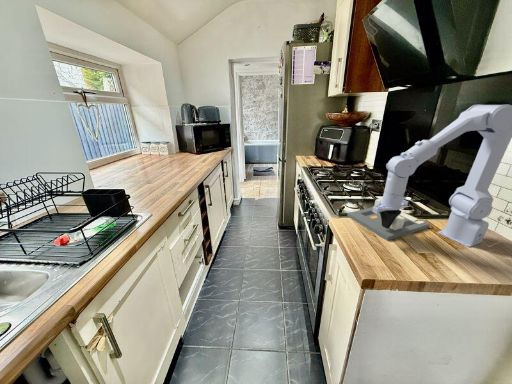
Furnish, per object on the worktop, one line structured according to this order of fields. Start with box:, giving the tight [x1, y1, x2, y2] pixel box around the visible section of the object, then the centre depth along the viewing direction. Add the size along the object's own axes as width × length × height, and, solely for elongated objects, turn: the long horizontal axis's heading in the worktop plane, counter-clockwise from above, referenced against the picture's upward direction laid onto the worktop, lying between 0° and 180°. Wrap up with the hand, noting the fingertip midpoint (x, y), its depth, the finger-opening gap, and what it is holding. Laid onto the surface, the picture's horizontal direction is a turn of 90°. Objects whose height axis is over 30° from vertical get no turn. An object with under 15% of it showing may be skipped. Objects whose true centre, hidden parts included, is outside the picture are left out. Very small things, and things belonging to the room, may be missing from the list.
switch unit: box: [346, 206, 431, 241], centre depth 86 cm, size 19×22×2 cm
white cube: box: [390, 215, 405, 230], centre depth 78 cm, size 4×4×4 cm
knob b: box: [373, 197, 383, 207], centre depth 91 cm, size 4×4×4 cm
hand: (385, 226), depth 77 cm, fingers closed
